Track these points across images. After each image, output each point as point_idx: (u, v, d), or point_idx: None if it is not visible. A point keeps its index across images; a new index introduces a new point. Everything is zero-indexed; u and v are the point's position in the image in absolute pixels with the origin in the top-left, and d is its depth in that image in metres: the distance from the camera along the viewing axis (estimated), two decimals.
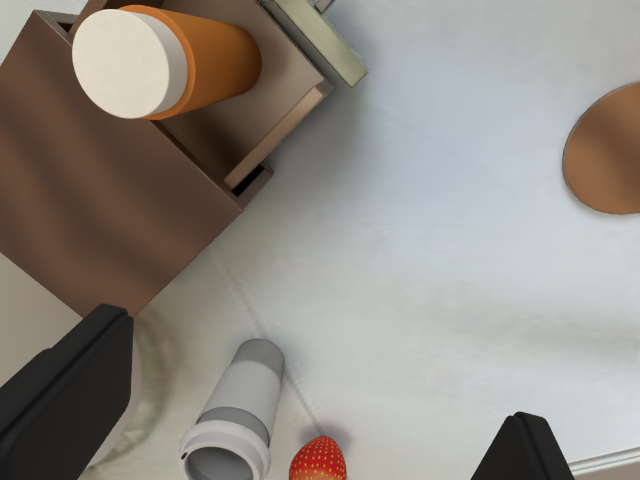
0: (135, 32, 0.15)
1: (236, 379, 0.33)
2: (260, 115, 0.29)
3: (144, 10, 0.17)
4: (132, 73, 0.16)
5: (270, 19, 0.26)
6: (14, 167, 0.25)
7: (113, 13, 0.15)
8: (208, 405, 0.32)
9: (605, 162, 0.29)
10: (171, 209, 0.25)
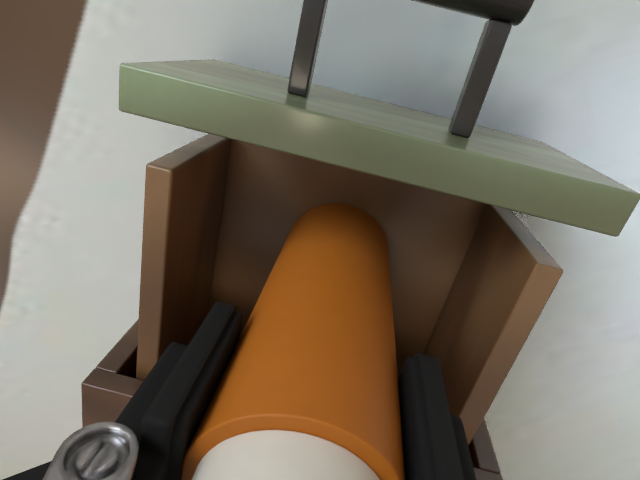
0: None
1: None
2: (414, 291, 0.19)
3: (243, 426, 0.07)
4: None
5: None
6: None
7: None
8: None
9: None
10: None
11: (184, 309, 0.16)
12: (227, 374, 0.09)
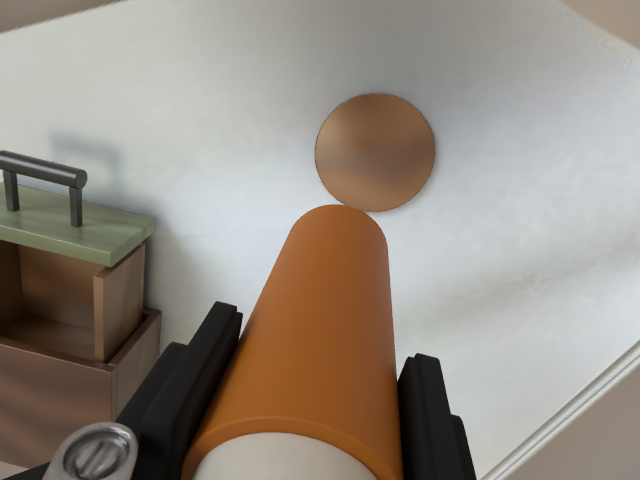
0: None
1: None
2: None
3: (243, 428, 0.07)
4: None
5: None
6: None
7: None
8: None
9: (358, 176, 0.33)
10: (76, 393, 0.34)
11: None
12: (226, 376, 0.09)
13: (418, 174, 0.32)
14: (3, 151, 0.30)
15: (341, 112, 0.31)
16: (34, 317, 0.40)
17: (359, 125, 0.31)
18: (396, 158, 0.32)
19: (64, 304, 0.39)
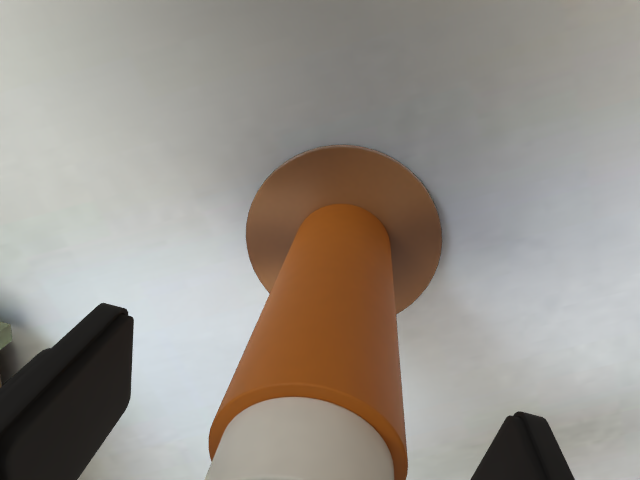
0: None
1: None
2: None
3: (266, 393, 0.08)
4: None
5: None
6: None
7: None
8: None
9: None
10: None
11: None
12: (248, 353, 0.10)
13: (414, 275, 0.19)
14: None
15: (285, 176, 0.18)
16: None
17: (317, 197, 0.19)
18: None
19: None
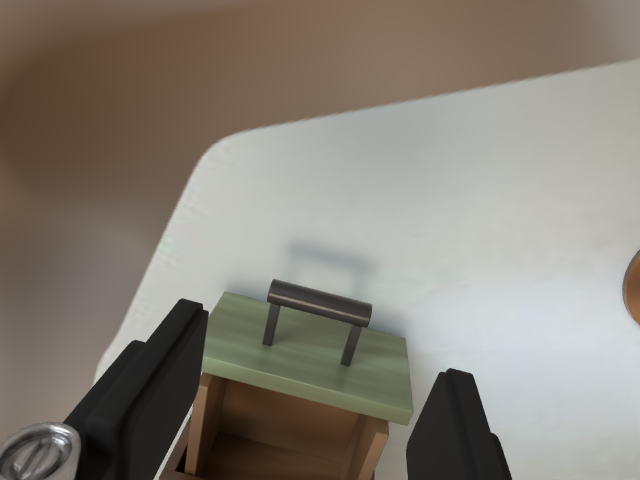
0: None
1: None
2: (340, 411, 0.32)
3: None
4: None
5: None
6: None
7: None
8: None
9: None
10: None
11: (209, 430, 0.30)
12: None
13: None
14: (275, 281, 0.24)
15: None
16: (231, 437, 0.34)
17: None
18: None
19: (270, 425, 0.34)
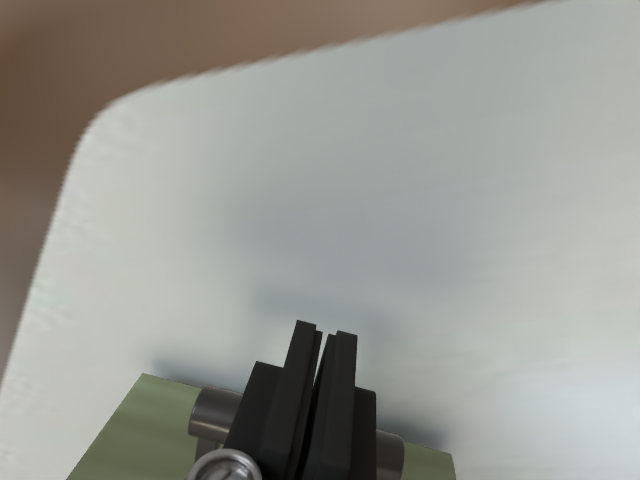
0: None
1: None
2: None
3: None
4: None
5: None
6: None
7: None
8: None
9: None
10: None
11: None
12: None
13: None
14: (205, 395, 0.12)
15: None
16: None
17: None
18: None
19: None
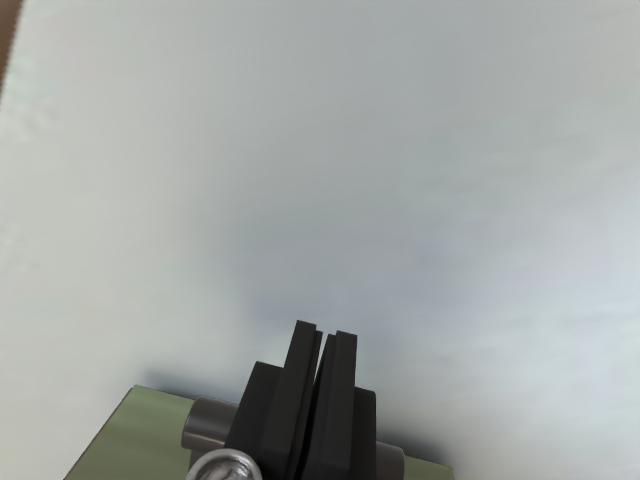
0: None
1: None
2: None
3: None
4: None
5: None
6: None
7: None
8: None
9: None
10: None
11: None
12: None
13: None
14: (200, 406, 0.11)
15: None
16: None
17: None
18: None
19: None
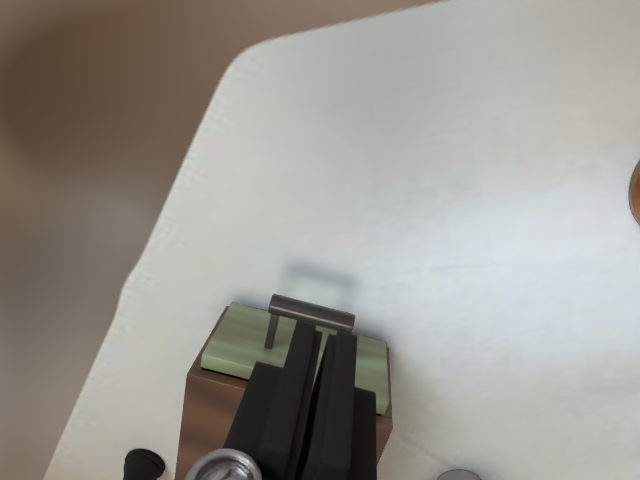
0: None
1: None
2: None
3: None
4: None
5: None
6: None
7: None
8: None
9: None
10: None
11: None
12: None
13: None
14: (275, 296, 0.29)
15: None
16: None
17: None
18: None
19: None
